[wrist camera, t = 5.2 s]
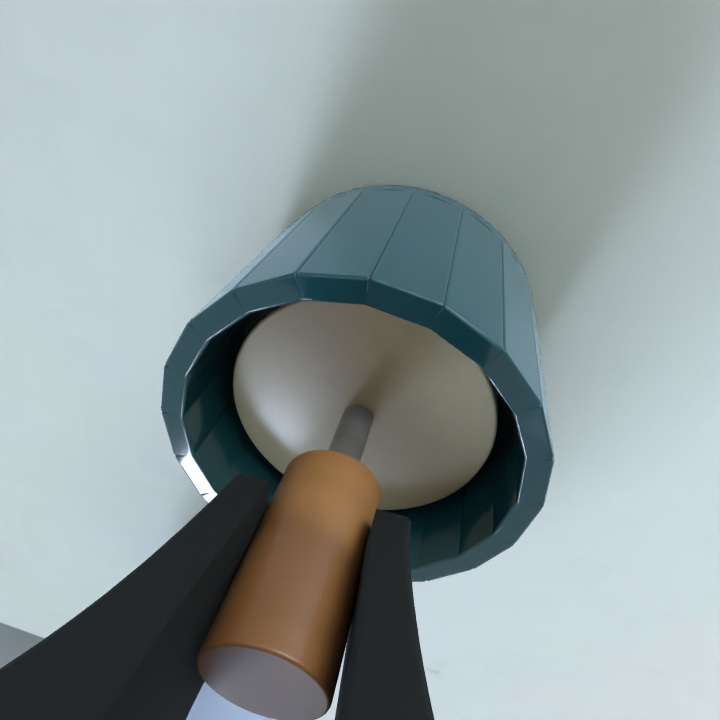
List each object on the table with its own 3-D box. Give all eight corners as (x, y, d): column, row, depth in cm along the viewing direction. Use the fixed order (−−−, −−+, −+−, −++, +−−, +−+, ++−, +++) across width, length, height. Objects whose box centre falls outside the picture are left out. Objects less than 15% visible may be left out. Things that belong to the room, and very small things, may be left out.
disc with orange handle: (356, 479, 18) (257, 797, 11) (221, 329, 16) (-24, 596, 8) (543, 403, 15) (590, 789, 7) (405, 200, 13) (269, 455, 5)
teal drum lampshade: (367, 457, 21) (320, 610, 16) (214, 282, 18) (91, 393, 13) (585, 364, 17) (628, 530, 11) (429, 116, 14) (384, 175, 8)
